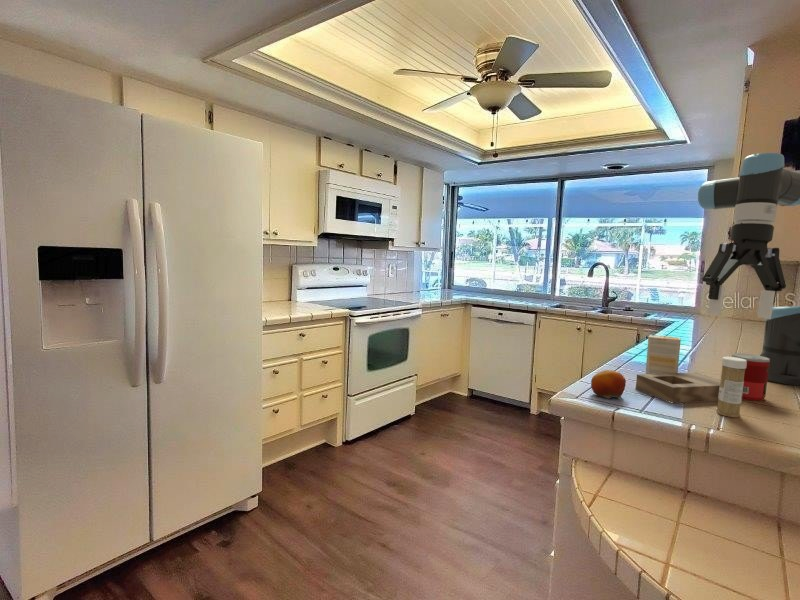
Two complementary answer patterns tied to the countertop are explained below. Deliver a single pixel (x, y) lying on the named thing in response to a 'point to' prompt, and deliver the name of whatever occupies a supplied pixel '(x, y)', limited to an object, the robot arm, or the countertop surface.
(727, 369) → the sprinkles bottle
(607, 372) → the fruit
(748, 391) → the canned food
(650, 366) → the supplement box
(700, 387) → the caddy
